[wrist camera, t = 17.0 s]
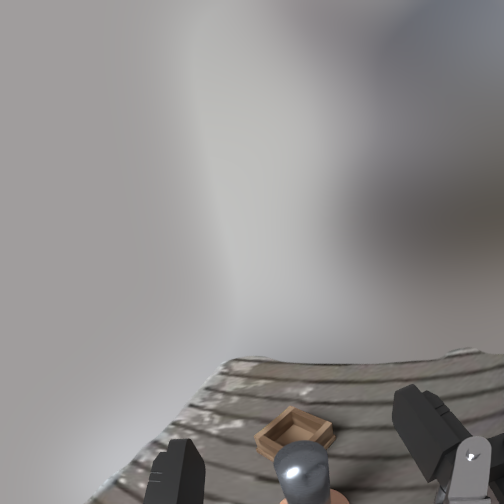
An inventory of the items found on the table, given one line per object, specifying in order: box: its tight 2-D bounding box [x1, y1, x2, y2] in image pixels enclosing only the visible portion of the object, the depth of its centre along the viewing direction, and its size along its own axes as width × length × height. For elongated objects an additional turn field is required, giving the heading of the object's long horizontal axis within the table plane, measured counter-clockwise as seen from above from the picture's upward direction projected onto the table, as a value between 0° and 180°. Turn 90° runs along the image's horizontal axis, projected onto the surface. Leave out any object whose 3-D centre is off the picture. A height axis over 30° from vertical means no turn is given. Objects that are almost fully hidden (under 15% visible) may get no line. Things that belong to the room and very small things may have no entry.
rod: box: [274, 440, 331, 504], centre depth 21 cm, size 5×5×16 cm
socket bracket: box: [254, 406, 336, 462], centre depth 37 cm, size 9×9×4 cm
